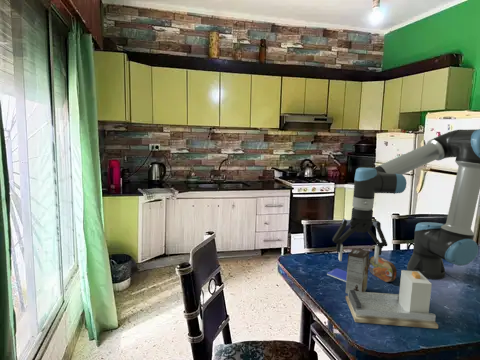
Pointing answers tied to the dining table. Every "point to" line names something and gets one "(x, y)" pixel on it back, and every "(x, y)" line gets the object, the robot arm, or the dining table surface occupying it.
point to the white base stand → (384, 307)
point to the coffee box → (357, 270)
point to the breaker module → (414, 292)
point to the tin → (383, 269)
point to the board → (391, 322)
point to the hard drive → (338, 274)
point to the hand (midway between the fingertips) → (357, 261)
